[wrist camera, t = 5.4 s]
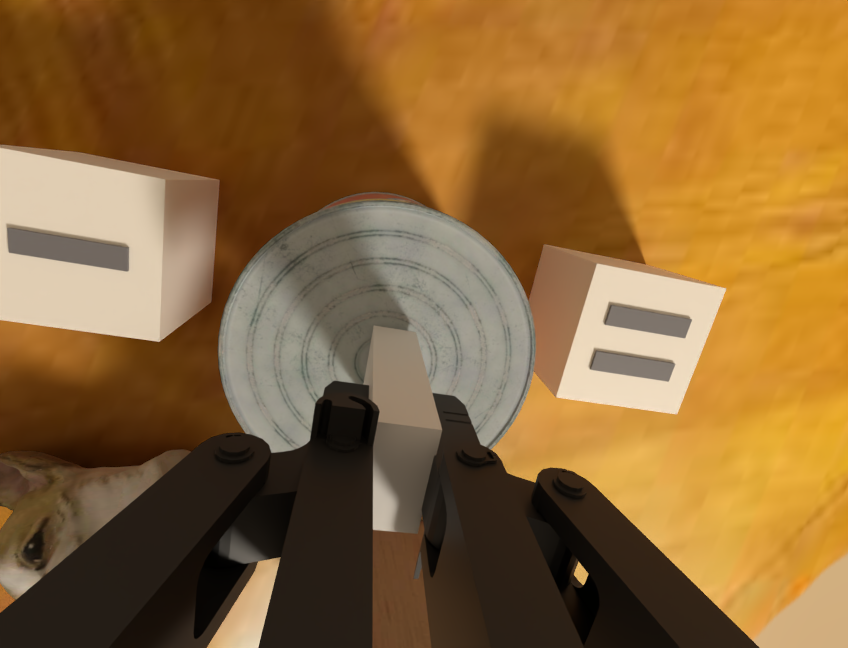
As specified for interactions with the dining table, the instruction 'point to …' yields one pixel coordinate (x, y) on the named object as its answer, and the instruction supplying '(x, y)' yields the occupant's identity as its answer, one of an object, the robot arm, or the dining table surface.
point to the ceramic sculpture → (61, 508)
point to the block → (398, 592)
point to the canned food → (373, 315)
